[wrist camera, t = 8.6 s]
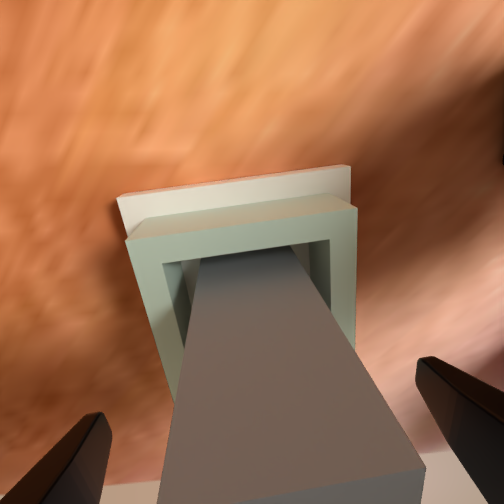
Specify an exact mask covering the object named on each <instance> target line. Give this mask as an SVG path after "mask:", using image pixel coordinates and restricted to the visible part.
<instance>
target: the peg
mask: <svg viewBox="0 0 504 504" xmlns="http://www.w3.org/2000/svg"><path fill="white" fill-rule="evenodd" d="M425 472H426V466H425V464H424V463H423V461H422V460H421V458H420V456H419V455H418V453H417V451H416V450H415V448H414V447H413V445H412V443H411V442H410V440H409V438H408V437H407V435H406V434H405V432H404V430H403V429H402V427H401V425H400V424H399V422H398V421H397V419H396V417H395V416H394V414H393V412H392V411H391V409H390V408H389V406H388V404H387V403H386V401H385V399H384V398H383V396H382V394H381V393H380V391H379V390H378V388H377V386H376V385H375V383H374V381H373V380H372V378H371V377H370V375H369V373H368V372H367V370H366V368H365V367H364V365H363V364H362V362H361V360H360V359H359V357H358V355H357V354H356V352H355V351H354V349H353V347H352V346H351V344H350V342H349V341H348V339H347V338H346V336H345V334H344V333H343V331H342V329H341V328H340V326H339V325H338V323H337V321H336V320H335V318H334V316H333V315H332V313H331V311H330V310H329V308H328V307H327V305H326V303H325V302H324V300H323V298H322V297H321V295H320V294H319V292H318V290H317V289H316V287H315V285H314V284H313V282H312V281H311V279H310V277H309V276H308V274H307V272H306V271H305V269H304V268H303V266H302V264H301V263H300V261H299V259H298V258H297V256H296V255H295V253H294V251H293V250H292V248H291V246H290V245H286V246H279V247H272V248H266V249H259V250H252V251H245V252H238V253H231V254H224V255H217V256H211V257H204V258H201V260H200V266H199V271H198V277H197V282H196V288H195V294H194V299H193V305H192V310H191V316H190V321H189V327H188V332H187V338H186V344H185V349H184V355H183V360H182V366H181V371H180V377H179V382H178V388H177V393H176V399H175V405H174V410H173V416H172V421H171V427H170V432H169V438H168V443H167V449H166V455H165V460H164V466H163V471H162V477H161V483H160V488H159V493H158V499H157V504H421V498H422V491H423V485H424V478H425Z"/></svg>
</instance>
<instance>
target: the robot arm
mask: <svg viewBox="0 0 504 504" xmlns="http://www.w3.org/2000/svg"><path fill="white" fill-rule="evenodd" d="M503 165H504V155H503ZM415 382H416V386H417V388H418V390H419V392H420V394H421V395H422V397H423V399H424V401H425V403H426V405H427V406H428V408H429V410H430V412H431V414H432V415H433V417H434V419H435V421H436V423H437V425H438V426H439V428H440V430H441V432H442V434H443V435H444V437H445V439H446V441H447V442H448V444H449V445H450V447H451V449H452V450H453V452H454V453H455V455H456V456H457V457H458V459H459V461H460V462H461V463H462V465H463V466H464V468H465V470H466V471H467V473H468V474H469V475H470V477H471V479H472V480H473V481H474V483H475V484H476V486H477V487H478V489H479V490H480V492H481V493H482V495H483V496H484V498H485V499H486V501H487V502H488V504H504V392H503V391H501V390H499V389H497V388H495V387H493V386H491V385H489V384H487V383H485V382H483V381H481V380H479V379H477V378H475V377H473V376H472V375H470V374H468V373H466V372H464V371H462V370H460V369H458V368H456V367H454V366H452V365H450V364H448V363H446V362H444V361H442V360H440V359H438V358H436V357H434V356H429V357H423V358H419V359H418V361H417V368H416V377H415ZM111 443H112V431H111V429H110V426H109V424H108V422H107V419H106V417H105V415H104V413H102V412H95V413H89V414H86V415H85V416H84V417H82V418H81V419H80V420H79V422H78V423H77V424H76V425H75V426H74V427H73V428H72V429H71V430H70V431H69V432H68V433H67V434H66V435H65V436H64V437H63V438H62V439H61V440H60V441H59V442H58V443H57V444H56V445H55V446H54V447H53V448H52V449H51V450H50V451H49V452H48V453H47V454H46V455H45V456H44V457H43V458H42V459H41V460H40V461H39V462H38V463H37V464H36V465H35V466H34V467H33V468H32V469H31V470H30V471H29V472H28V473H27V474H26V475H25V476H24V477H23V478H22V479H21V480H20V481H19V482H18V483H17V484H16V485H15V486H14V487H13V488H12V489H11V490H10V491H9V492H8V493H7V494H6V495H5V496H4V497H3V498H2V499H1V500H0V504H99V502H100V498H101V493H102V488H103V483H104V478H105V473H106V468H107V463H108V458H109V453H110V448H111Z"/></svg>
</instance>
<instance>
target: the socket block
mask: <svg viewBox="0 0 504 504" xmlns="http://www.w3.org/2000/svg"><path fill="white" fill-rule="evenodd" d="M116 199H117V202H118V205H119V209H120V212H121V216H122V219H123V222H124V226H125V229H126V232H127V236H128V238H127V239H126V240H125V243H126V246H127V250H128V253H129V256H130V259H131V263H132V266H133V269H134V273H135V276H136V279H137V283H138V286H139V289H140V293H141V296H142V299H143V303H144V306H145V309H146V313H147V316H148V319H149V322H150V326H151V329H152V332H153V336H154V339H155V342H156V346H157V349H158V352H159V356H160V359H161V362H162V366H163V369H164V372H165V375H166V379H167V382H168V385H169V389H170V392H171V395H172V399H173V402H174V405H175V399H176V393H177V388H178V382H179V377H180V371H181V366H182V360H183V355H184V349H185V344H186V338H187V332H188V327H189V321H190V316H191V310H192V305H193V299H194V294H195V288H196V282H197V277H198V271H199V266H200V260H201V258H204V257H211V256H217V255H224V254H231V253H238V252H245V251H252V250H259V249H266V248H272V247H279V246H286V245H290V246H291V248H292V250H293V251H294V253H295V255H296V256H297V258H298V259H299V261H300V263H301V264H302V266H303V268H304V269H305V271H306V272H307V274H308V276H309V277H310V279H311V281H312V282H313V284H314V285H315V287H316V289H317V290H318V292H319V294H320V295H321V297H322V298H323V300H324V302H325V303H326V305H327V307H328V308H329V310H330V311H331V313H332V315H333V316H334V318H335V320H336V321H337V323H338V325H339V326H340V328H341V329H342V331H343V333H344V334H345V336H346V338H347V339H348V341H349V342H350V344H351V346H352V347H353V349H354V351H355V326H356V271H357V216H358V208H357V207H355V206H353V205H351V166H348V165H344V164H339V165H332V166H325V167H317V168H310V169H302V170H295V171H288V172H280V173H273V174H265V175H258V176H250V177H243V178H236V179H228V180H221V181H213V182H206V183H198V184H191V185H184V186H176V187H169V188H161V189H154V190H147V191H139V192H132V193H124V194H122V195H121V196H119V197H117V198H116Z"/></svg>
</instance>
